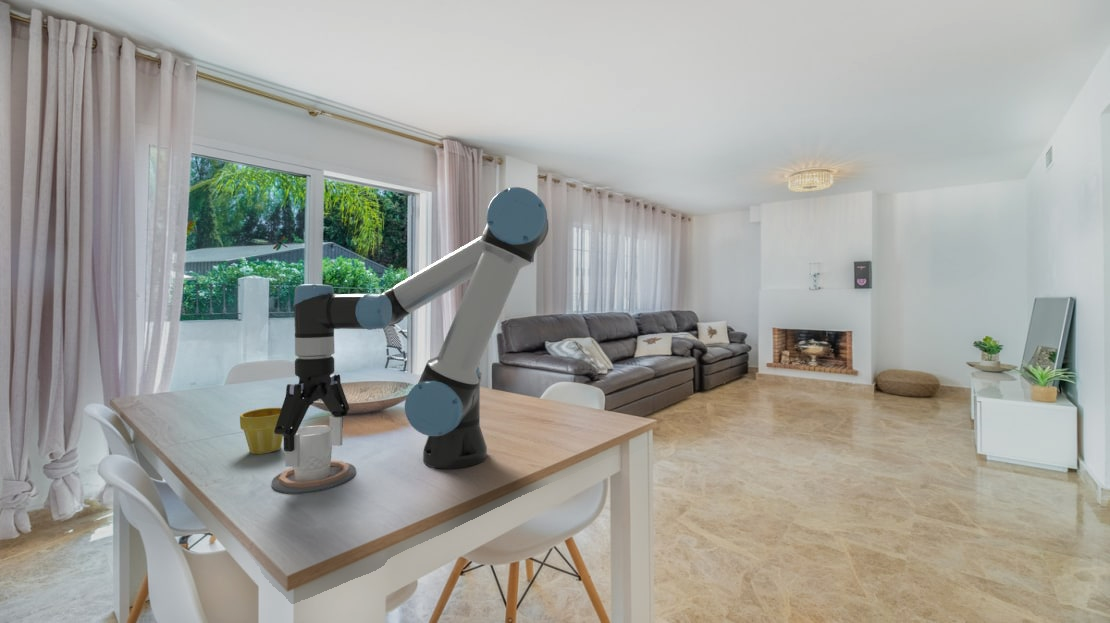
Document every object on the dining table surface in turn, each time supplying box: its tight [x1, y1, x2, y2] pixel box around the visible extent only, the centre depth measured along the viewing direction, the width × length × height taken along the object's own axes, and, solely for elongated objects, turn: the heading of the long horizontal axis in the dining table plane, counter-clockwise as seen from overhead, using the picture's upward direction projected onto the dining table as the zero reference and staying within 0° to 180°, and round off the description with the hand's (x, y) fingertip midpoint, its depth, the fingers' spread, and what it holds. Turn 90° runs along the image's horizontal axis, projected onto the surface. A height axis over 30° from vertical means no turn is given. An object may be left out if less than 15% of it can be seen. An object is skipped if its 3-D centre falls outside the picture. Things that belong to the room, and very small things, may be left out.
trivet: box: [271, 460, 357, 494], centre depth 98 cm, size 16×16×1 cm
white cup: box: [293, 424, 333, 482], centre depth 96 cm, size 8×8×10 cm
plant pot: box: [239, 407, 284, 455], centre depth 115 cm, size 10×10×10 cm
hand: (315, 454), depth 97 cm, fingers open, 13 cm apart
